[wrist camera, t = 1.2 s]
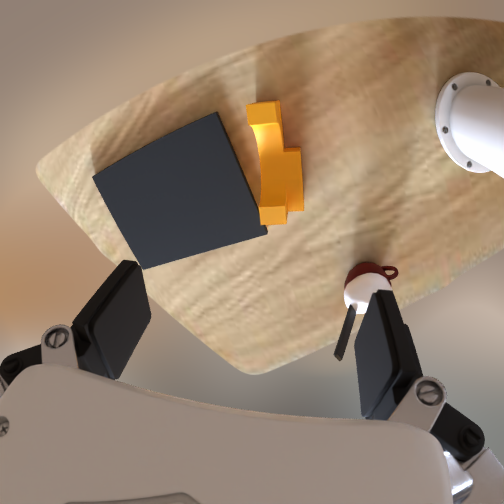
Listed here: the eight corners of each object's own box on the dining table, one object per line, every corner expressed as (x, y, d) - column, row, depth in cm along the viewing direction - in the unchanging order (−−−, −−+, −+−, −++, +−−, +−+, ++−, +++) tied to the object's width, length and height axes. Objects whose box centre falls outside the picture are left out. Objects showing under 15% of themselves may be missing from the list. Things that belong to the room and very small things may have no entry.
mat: (217, 111, 31) (215, 112, 30) (267, 231, 38) (267, 234, 37) (95, 175, 37) (91, 177, 36) (145, 267, 44) (143, 270, 43)
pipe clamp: (303, 200, 35) (303, 223, 29) (267, 201, 36) (260, 225, 30) (295, 99, 29) (294, 100, 23) (256, 102, 30) (245, 105, 24)
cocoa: (392, 249, 36) (417, 310, 26) (394, 286, 39) (414, 349, 29) (323, 263, 39) (327, 327, 29) (331, 299, 42) (335, 364, 32)
